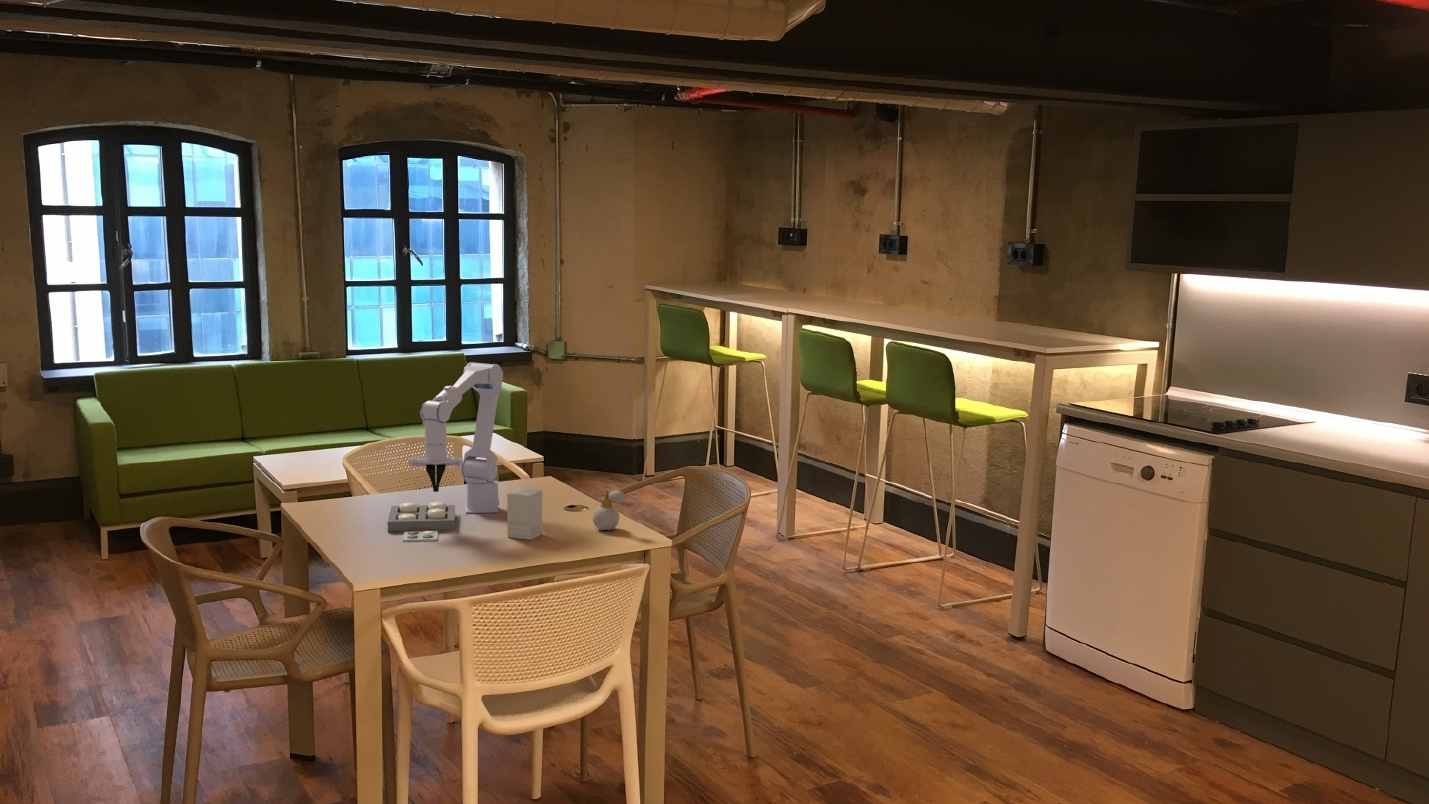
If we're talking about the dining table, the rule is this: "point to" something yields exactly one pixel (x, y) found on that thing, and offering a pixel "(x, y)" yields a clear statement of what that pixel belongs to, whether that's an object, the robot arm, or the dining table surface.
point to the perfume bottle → (608, 511)
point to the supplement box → (524, 513)
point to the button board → (421, 520)
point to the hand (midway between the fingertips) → (436, 491)
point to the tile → (420, 536)
